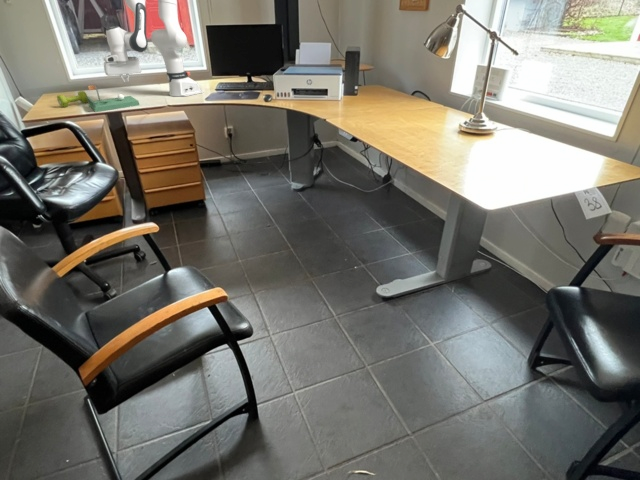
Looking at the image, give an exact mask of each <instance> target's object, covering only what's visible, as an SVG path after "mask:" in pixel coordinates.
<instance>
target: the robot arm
mask: <svg viewBox="0 0 640 480" xmlns="http://www.w3.org/2000/svg"><path fill="white" fill-rule="evenodd" d="M124 2H125V5H126V6H127V7H128V8H129V9H130V10H131V11H132V13H133V14H134V15H133V16H134V21H133V22H134V25H133V26H134V27H133V32H131V31H128V30H125V29H123V28H121V27H120V26H119V25H114V26H108V27H107V28H106V29H105V33H106V41H107V44H108V47H109V50H110V51H109V52H110V54H108V55H107V56H104V57H103V61H104V63H103V71H104V73H105V75H106V76H110V77H111V76H119V77H120V78H121V79H122V82H123V83H130V81H129V78H130V74H142V68H141V66H140V59H139V58H138V57H137V56H136V55H135V56H128V55H129V54H128V52H127V50H129V51H135V52H137V53H143V52H145V51H146V50H147V49H148V45H149V43H148V38H147V9H146V2H147V1H146V0H124ZM157 3H158V4H157V5H158V9H157V11H158V17H159V19H160V20H161V21H162V22H163V25H164V28H158V29H154V30H152V31H151V33H150V39H151V42H152V44H153V45H154V46H155V47H156V48H157V50H158V51H159V53H160V54H161V56H162V58H163V61H164V65H165V68H166V69H165V71H166V77H167V81H168V85H169V86H168V87H169V96H171V97H188V96H189V97H190V96H194V95H199V94H203V93H204V90H203V89H202V88H200V85H199V84H198V82H197V81H196V80H194V79H192V77H189V76H191V72H190V71H187V70H185V68H184V63H183V58H182V57H181V56H180V55H179V54H178V53H177V51H176V50H180V49H183V48H186V46H187V44H188V38H187V35H186V34H185V32H184V31H183V30H182V28H181V25H180V21H179V15H178V14H179V13H178V0H157ZM124 75H125V77H126V78H124Z"/></svg>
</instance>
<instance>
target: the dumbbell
mask: <svg viewBox="0 0 640 480" xmlns="http://www.w3.org/2000/svg"><path fill="white" fill-rule="evenodd" d="M87 97H89V96H88V94H87V93H86V92H85V91H84V90H78V92H77V95H74V96H69V97H66V96H65V95H64V94H58V95H57V96H56V98H57V103H58V104H59V106H60V107H61V108H68V107H69V103H74V102H78V101H79V102H80V103H83V104H89V103H88V100H87Z"/></svg>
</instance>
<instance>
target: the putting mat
mask: <svg viewBox="0 0 640 480" xmlns="http://www.w3.org/2000/svg"><path fill="white" fill-rule="evenodd" d="M87 88H88V90H89V91H95V90H96V91H95V92H96V94H97V98H98V100H93V99H92V98H90V97H89V96H88V97H87V100H88V103H87V104H88V105H89V107H90V109H92V110H93V111H94V112H95V113H99V112H106V111H110V110H118V109H124V108H130V106H131V107H136V106H140V102H139V100H138V99H136V98H135V97H133V96H131V95H129V96H128V95H127V96H124V100H119V99H118V97H114V98H108V99H101V97H100V94H99V90H98V88H97V84H94V85H93V84H92V85H87Z"/></svg>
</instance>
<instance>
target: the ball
mask: <svg viewBox="0 0 640 480" xmlns="http://www.w3.org/2000/svg"><path fill="white" fill-rule="evenodd" d="M124 97H125V96H124V95H123V94H122V93H119V94H118V95H117V98H118V99H119V100H124Z"/></svg>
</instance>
